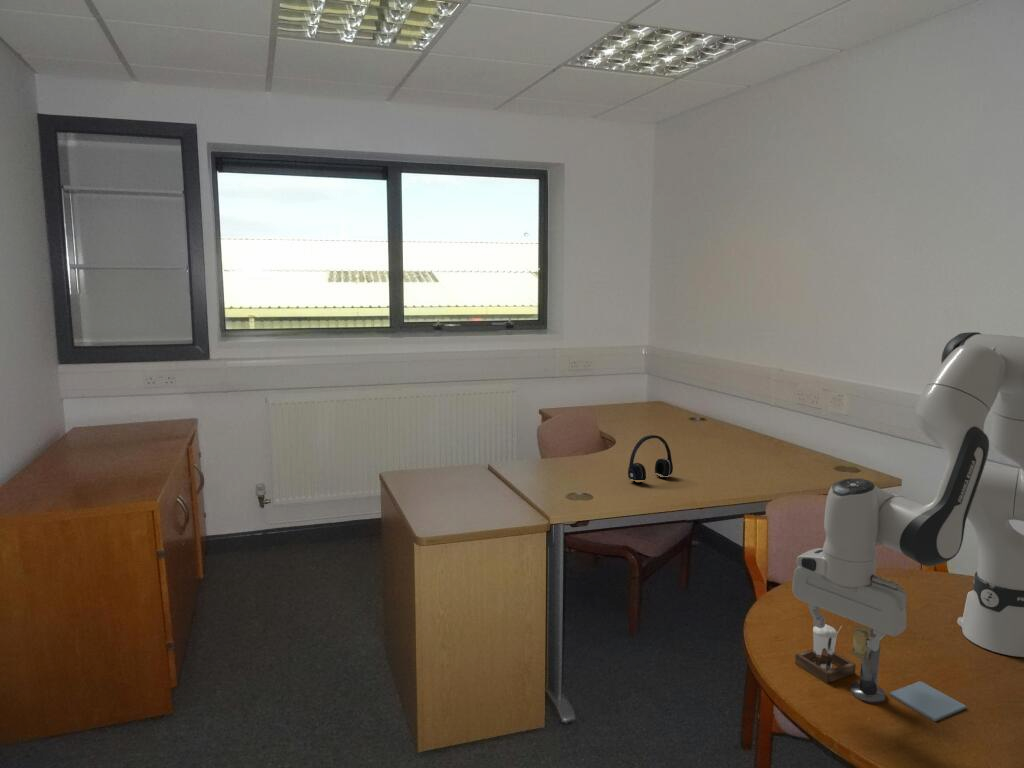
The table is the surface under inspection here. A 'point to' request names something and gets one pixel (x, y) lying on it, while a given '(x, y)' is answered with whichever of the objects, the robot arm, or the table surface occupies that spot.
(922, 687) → the pad
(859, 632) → the lever
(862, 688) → the latch post
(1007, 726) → the table surface
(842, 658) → the brown square frame
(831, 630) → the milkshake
